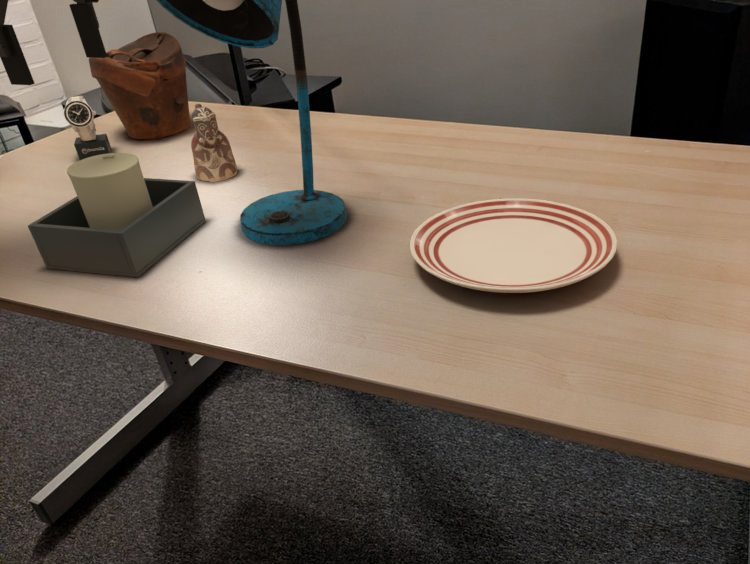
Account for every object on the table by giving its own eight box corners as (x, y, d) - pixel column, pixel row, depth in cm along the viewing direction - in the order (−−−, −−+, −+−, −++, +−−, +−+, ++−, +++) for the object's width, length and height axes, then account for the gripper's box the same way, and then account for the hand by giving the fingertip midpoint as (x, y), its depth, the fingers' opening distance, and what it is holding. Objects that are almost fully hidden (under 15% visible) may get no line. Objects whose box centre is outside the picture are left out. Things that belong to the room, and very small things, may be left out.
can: (167, 223, 100) (143, 146, 93) (156, 250, 93) (129, 169, 86) (105, 229, 99) (76, 152, 92) (88, 258, 92) (55, 176, 85)
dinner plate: (385, 236, 95) (383, 215, 93) (550, 201, 103) (552, 181, 101) (456, 335, 74) (456, 310, 72) (657, 282, 82) (661, 259, 80)
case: (103, 150, 130) (70, 55, 120) (123, 120, 146) (95, 34, 136) (196, 141, 133) (171, 47, 122) (205, 113, 149) (184, 27, 138)
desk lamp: (196, 250, 94) (82, -136, 67) (285, 192, 110) (220, -138, 83) (290, 269, 88) (205, -143, 62) (368, 204, 104) (327, -144, 78)
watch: (79, 163, 125) (56, 105, 118) (82, 150, 131) (61, 94, 124) (110, 159, 126) (90, 101, 120) (112, 146, 132) (93, 90, 126)
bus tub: (46, 268, 91) (27, 225, 87) (124, 214, 105) (110, 175, 101) (138, 277, 88) (122, 233, 84) (206, 221, 102) (194, 180, 98)
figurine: (198, 184, 114) (179, 115, 107) (195, 171, 119) (177, 104, 112) (239, 177, 116) (223, 109, 109) (235, 164, 121) (219, 98, 114)
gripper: (-83, -135, 61) (13, 99, 73) (94, -137, 80) (145, 48, 93) (-146, -132, 62) (-42, 96, 75) (42, -135, 82) (100, 46, 94)
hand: (62, 70), depth 84 cm, fingers open, 13 cm apart
